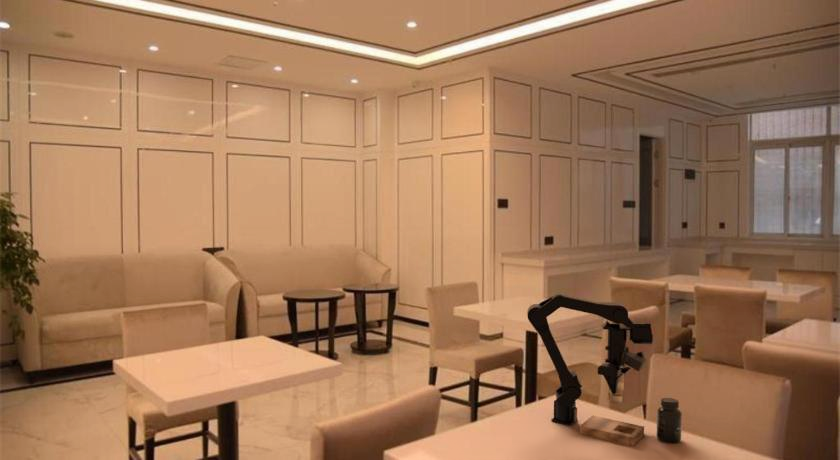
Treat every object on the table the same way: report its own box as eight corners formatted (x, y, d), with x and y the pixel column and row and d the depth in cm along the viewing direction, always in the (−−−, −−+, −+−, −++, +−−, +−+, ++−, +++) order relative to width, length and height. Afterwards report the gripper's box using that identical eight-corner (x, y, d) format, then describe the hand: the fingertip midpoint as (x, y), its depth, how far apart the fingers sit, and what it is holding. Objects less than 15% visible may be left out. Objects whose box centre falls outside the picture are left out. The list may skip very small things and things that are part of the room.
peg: (607, 401, 189) (607, 373, 188) (611, 398, 192) (611, 370, 192) (620, 404, 186) (621, 376, 186) (625, 400, 190) (625, 373, 189)
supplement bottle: (683, 445, 173) (684, 404, 173) (658, 443, 175) (659, 402, 174) (678, 436, 180) (679, 397, 179) (654, 434, 181) (655, 395, 181)
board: (579, 433, 181) (580, 425, 181) (592, 423, 190) (592, 415, 190) (633, 446, 172) (633, 437, 172) (644, 434, 181) (644, 426, 181)
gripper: (634, 352, 176) (633, 404, 177) (651, 341, 191) (650, 389, 192) (597, 347, 183) (596, 397, 183) (616, 336, 198) (615, 383, 198)
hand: (616, 391), depth 189 cm, fingers closed on peg, 4 cm apart
